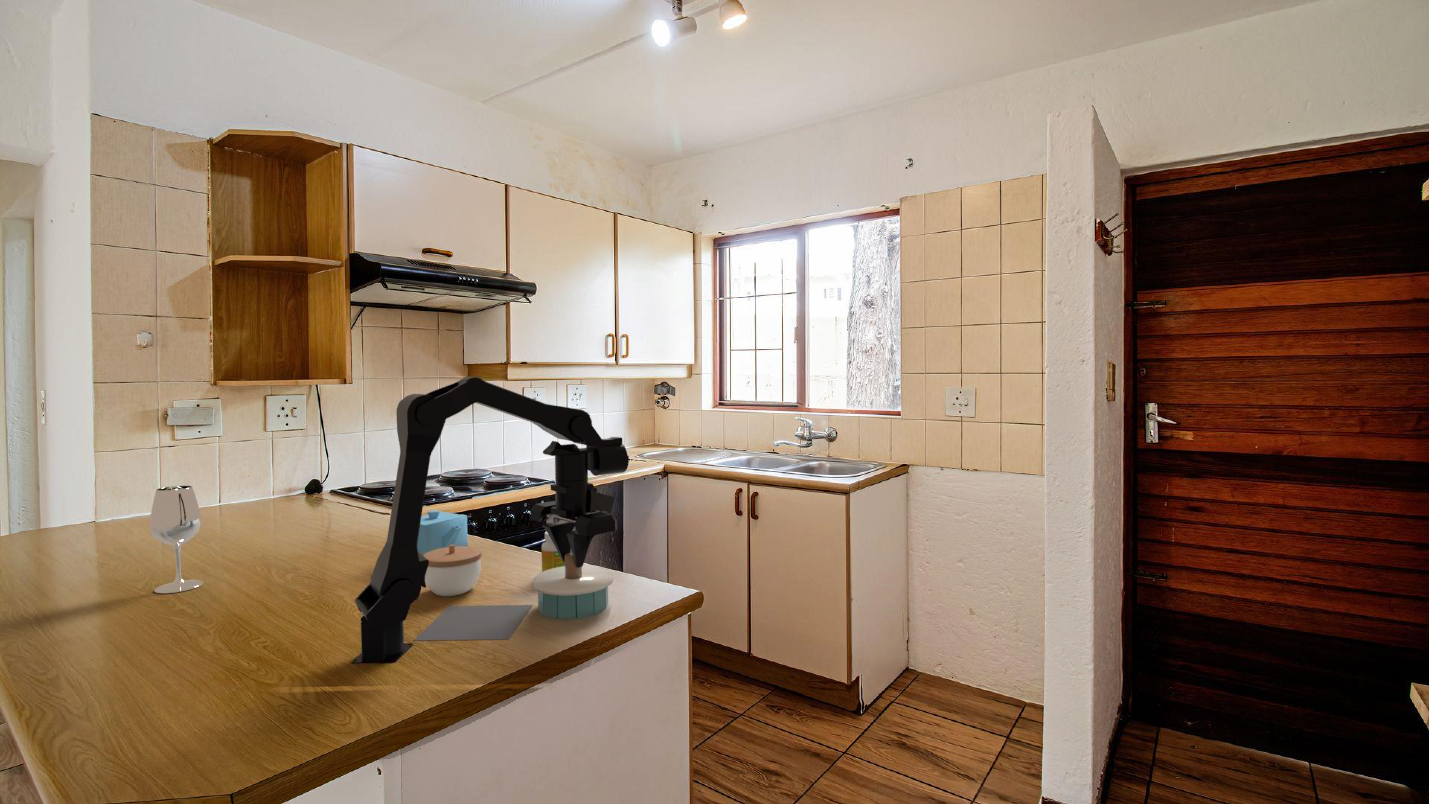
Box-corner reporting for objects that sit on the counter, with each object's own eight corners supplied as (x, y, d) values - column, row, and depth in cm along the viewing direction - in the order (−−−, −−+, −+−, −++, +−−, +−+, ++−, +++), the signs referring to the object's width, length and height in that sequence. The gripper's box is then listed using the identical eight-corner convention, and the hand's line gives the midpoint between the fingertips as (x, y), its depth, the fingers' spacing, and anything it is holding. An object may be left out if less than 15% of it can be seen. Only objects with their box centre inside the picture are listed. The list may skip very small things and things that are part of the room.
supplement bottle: (555, 584, 132) (554, 536, 131) (536, 579, 135) (535, 533, 134) (574, 577, 136) (573, 530, 136) (555, 572, 139) (555, 527, 139)
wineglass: (145, 590, 129) (140, 489, 128) (192, 578, 136) (187, 483, 135) (165, 596, 125) (160, 493, 124) (211, 584, 132) (207, 486, 131)
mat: (508, 642, 104) (508, 639, 104) (413, 643, 104) (413, 640, 104) (532, 607, 119) (532, 604, 119) (449, 608, 119) (449, 605, 119)
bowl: (602, 621, 113) (601, 593, 112) (531, 622, 112) (531, 594, 112) (611, 597, 125) (611, 571, 124) (548, 598, 124) (547, 572, 124)
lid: (607, 595, 111) (606, 566, 111) (524, 596, 111) (523, 567, 111) (617, 569, 125) (617, 543, 125) (543, 570, 125) (543, 544, 125)
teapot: (428, 575, 138) (426, 522, 137) (378, 562, 147) (376, 512, 147) (489, 556, 151) (488, 508, 151) (440, 545, 161) (438, 500, 160)
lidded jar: (462, 604, 121) (460, 554, 120) (410, 600, 123) (408, 551, 122) (492, 585, 131) (491, 539, 131) (444, 582, 133) (443, 536, 133)
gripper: (640, 479, 117) (640, 565, 117) (579, 468, 130) (580, 546, 130) (588, 487, 109) (589, 580, 109) (528, 474, 122) (530, 558, 122)
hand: (572, 564), depth 118 cm, fingers open, 4 cm apart
